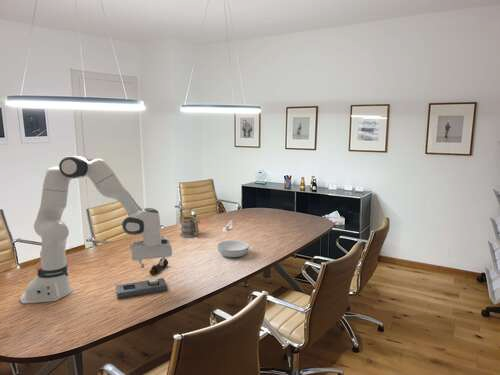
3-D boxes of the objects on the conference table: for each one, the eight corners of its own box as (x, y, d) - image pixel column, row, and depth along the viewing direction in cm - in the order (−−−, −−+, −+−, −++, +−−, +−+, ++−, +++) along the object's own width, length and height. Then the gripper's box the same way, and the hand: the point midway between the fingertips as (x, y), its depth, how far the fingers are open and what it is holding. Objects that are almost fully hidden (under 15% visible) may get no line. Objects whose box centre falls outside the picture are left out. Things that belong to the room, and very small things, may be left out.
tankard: (177, 235, 286) (177, 216, 283) (191, 232, 294) (190, 214, 292) (192, 241, 271) (191, 221, 269) (206, 237, 280) (205, 218, 277)
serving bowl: (223, 262, 229) (223, 252, 227) (213, 252, 247) (212, 242, 246) (254, 257, 237) (254, 247, 236) (241, 248, 256) (241, 238, 255)
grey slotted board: (117, 299, 180) (117, 293, 179) (116, 290, 189) (116, 285, 188) (167, 290, 189) (167, 285, 188) (163, 283, 198) (163, 277, 197)
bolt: (150, 278, 209) (163, 267, 223) (157, 275, 207) (169, 264, 222) (145, 269, 209) (158, 259, 223) (152, 266, 207) (165, 256, 221)
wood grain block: (150, 291, 189) (149, 281, 188) (149, 288, 192) (148, 278, 191) (158, 289, 190) (157, 280, 189) (157, 286, 194) (156, 277, 193)
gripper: (130, 243, 180) (131, 271, 182) (172, 240, 187) (172, 266, 189) (129, 240, 185) (130, 266, 187) (170, 236, 193) (170, 262, 195)
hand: (152, 266), depth 189 cm, fingers open, 8 cm apart
